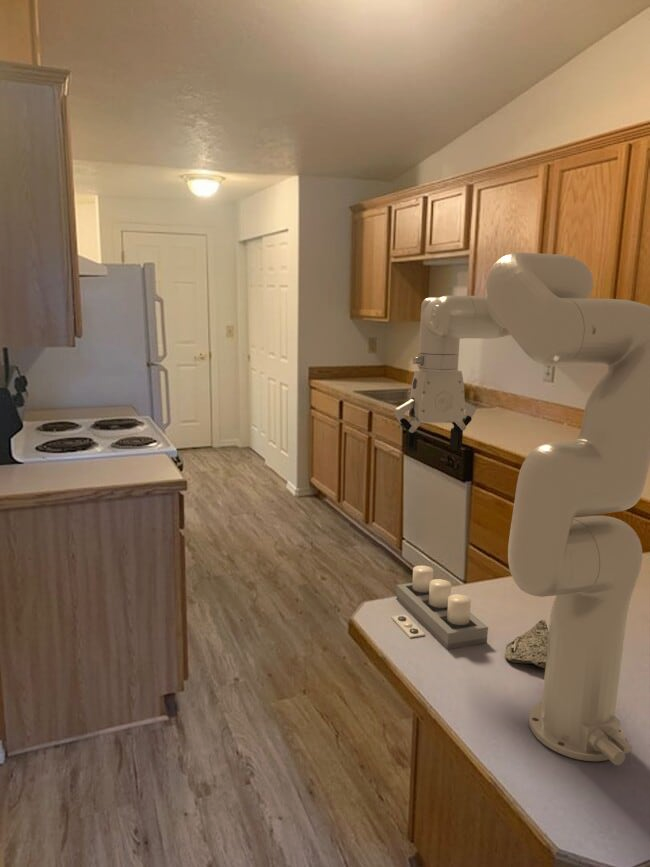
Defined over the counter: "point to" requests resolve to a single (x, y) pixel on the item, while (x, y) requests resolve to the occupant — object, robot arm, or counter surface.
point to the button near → (458, 609)
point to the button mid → (439, 593)
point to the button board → (441, 620)
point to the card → (407, 626)
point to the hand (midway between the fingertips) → (433, 450)
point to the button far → (422, 578)
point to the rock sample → (530, 646)
